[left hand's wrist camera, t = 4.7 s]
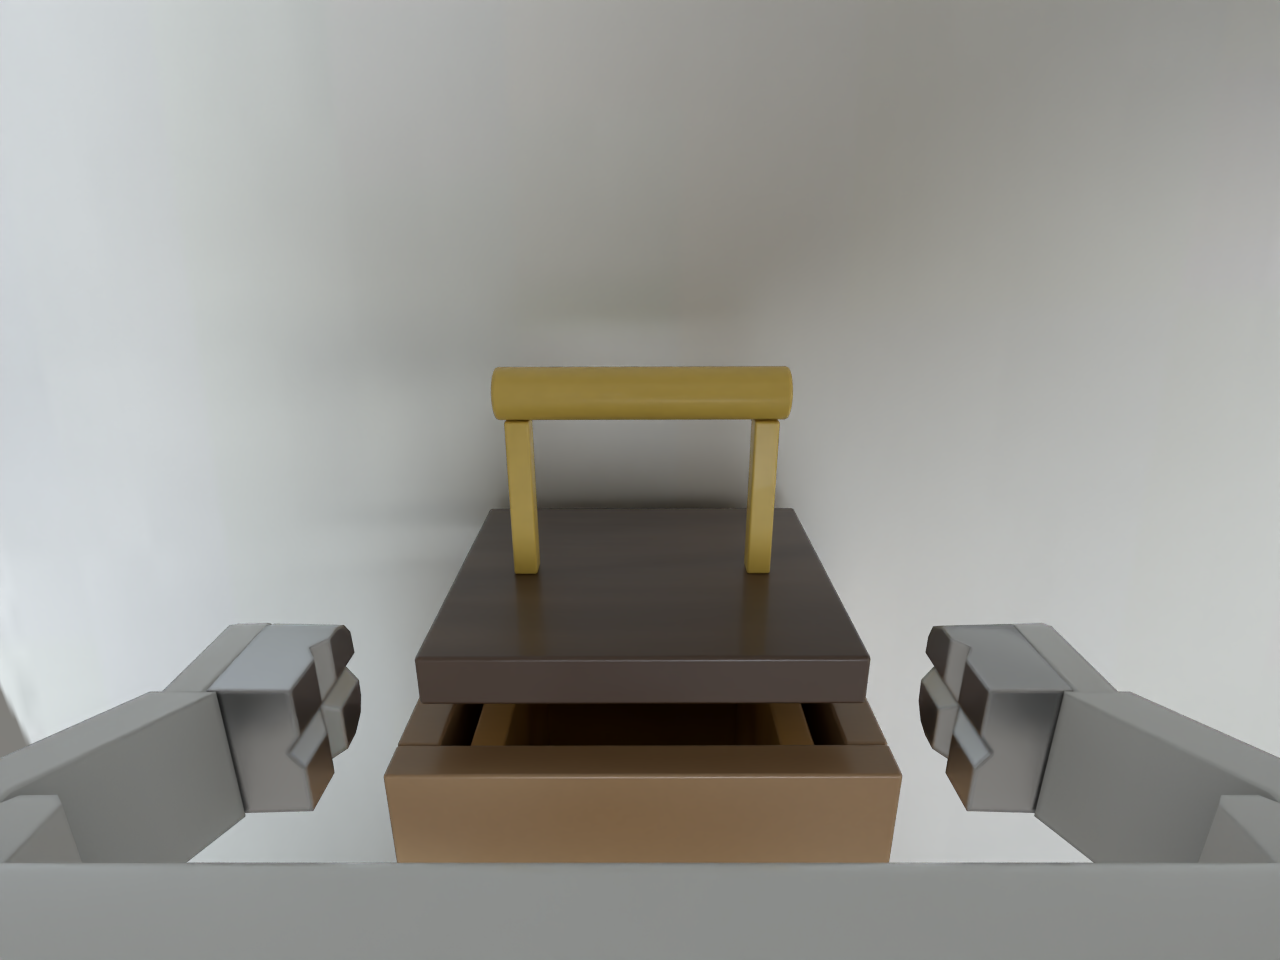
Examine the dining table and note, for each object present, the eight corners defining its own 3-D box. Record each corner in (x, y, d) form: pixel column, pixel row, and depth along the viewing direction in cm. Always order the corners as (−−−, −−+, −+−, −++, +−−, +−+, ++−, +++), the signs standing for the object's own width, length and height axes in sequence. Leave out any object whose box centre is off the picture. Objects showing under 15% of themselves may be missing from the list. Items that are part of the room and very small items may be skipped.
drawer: (476, 338, 21) (380, 410, 13) (806, 337, 21) (903, 409, 13) (524, 935, 29) (483, 1194, 22) (760, 935, 29) (804, 1193, 22)
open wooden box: (482, 556, 25) (381, 776, 15) (801, 555, 25) (904, 774, 15) (518, 972, 32) (465, 1303, 22) (766, 971, 31) (822, 1303, 22)
